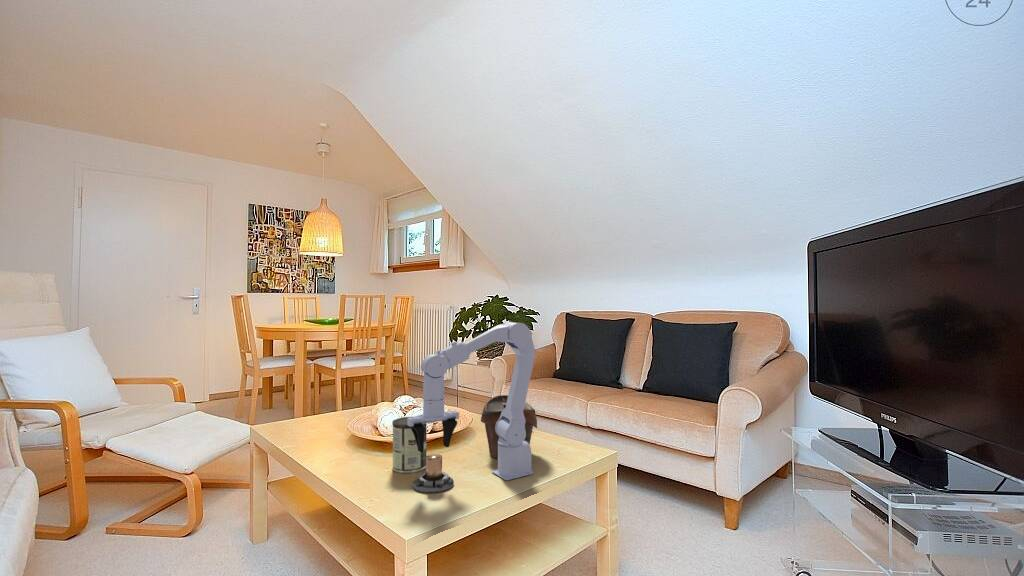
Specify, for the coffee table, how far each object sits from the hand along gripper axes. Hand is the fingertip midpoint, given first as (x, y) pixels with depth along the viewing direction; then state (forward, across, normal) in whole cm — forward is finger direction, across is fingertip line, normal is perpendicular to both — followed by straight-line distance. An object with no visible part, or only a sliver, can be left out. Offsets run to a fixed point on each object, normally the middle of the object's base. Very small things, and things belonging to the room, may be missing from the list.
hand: (433, 448), depth 130 cm
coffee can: (+10, 0, +17) cm, 20 cm away
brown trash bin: (+10, +32, +10) cm, 35 cm away
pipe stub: (+9, 0, 0) cm, 9 cm away
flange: (+10, 0, 0) cm, 10 cm away
